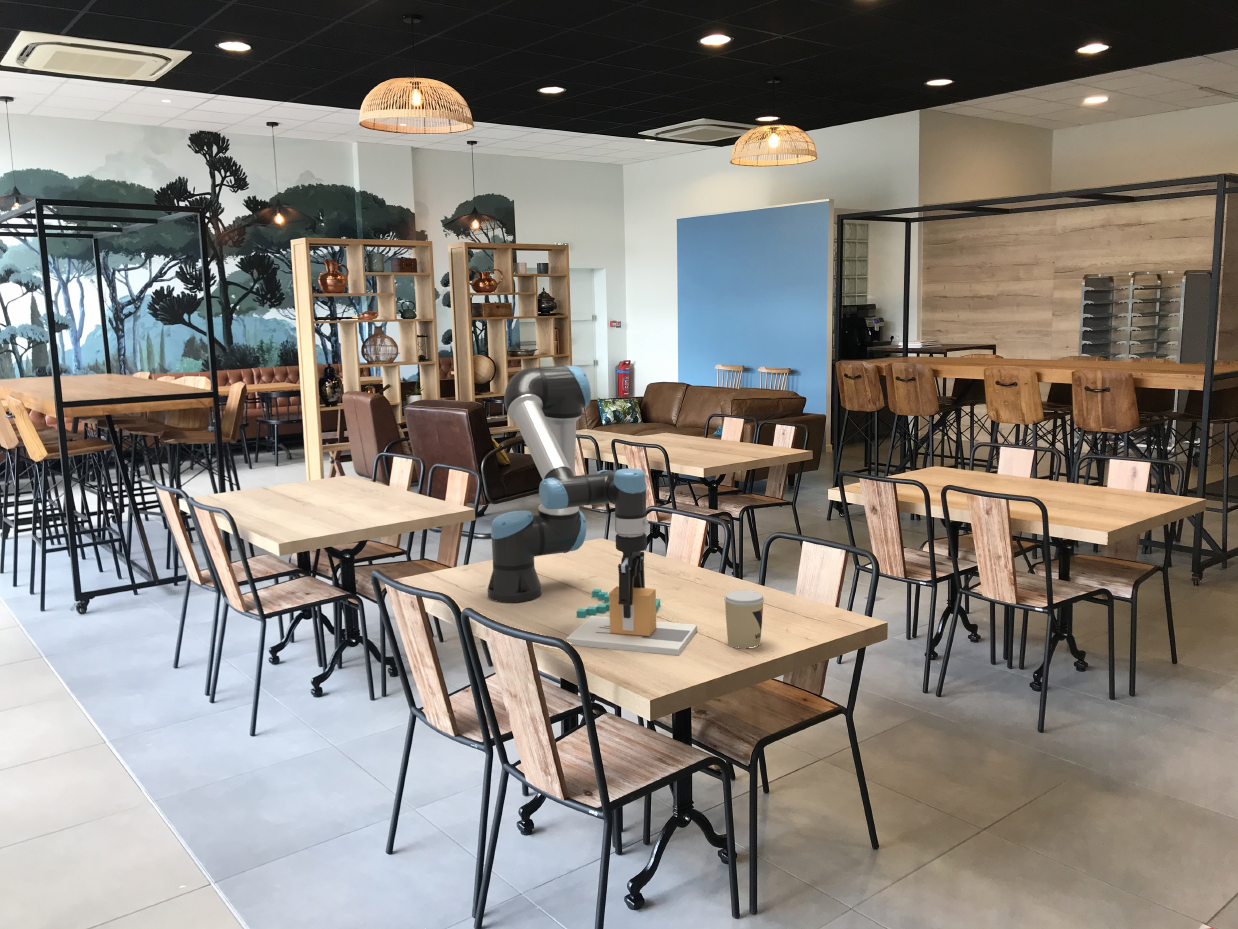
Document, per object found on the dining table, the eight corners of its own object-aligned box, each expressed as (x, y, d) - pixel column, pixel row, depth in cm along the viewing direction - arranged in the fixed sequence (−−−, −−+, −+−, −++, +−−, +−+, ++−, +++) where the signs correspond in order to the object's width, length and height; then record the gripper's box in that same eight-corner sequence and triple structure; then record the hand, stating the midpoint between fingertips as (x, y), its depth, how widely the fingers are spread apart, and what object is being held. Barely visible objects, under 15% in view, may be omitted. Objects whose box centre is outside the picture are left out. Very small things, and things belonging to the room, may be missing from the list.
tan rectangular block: (610, 632, 237) (609, 593, 235) (617, 625, 242) (616, 586, 241) (649, 636, 234) (648, 596, 232) (656, 628, 239) (655, 589, 238)
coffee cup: (763, 651, 227) (763, 601, 226) (723, 649, 229) (722, 600, 227) (764, 637, 237) (764, 590, 235) (725, 636, 238) (725, 588, 236)
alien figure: (576, 619, 255) (652, 622, 251) (576, 611, 254) (652, 614, 250) (593, 596, 274) (664, 599, 270) (593, 589, 274) (663, 591, 270)
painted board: (566, 644, 234) (566, 638, 234) (591, 621, 251) (591, 615, 251) (678, 655, 226) (678, 649, 225) (697, 630, 243) (697, 624, 242)
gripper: (633, 543, 224) (635, 639, 228) (657, 525, 242) (658, 614, 246) (603, 541, 227) (605, 636, 230) (628, 523, 244) (630, 612, 248)
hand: (632, 625), depth 238 cm, fingers closed on tan rectangular block, 6 cm apart
